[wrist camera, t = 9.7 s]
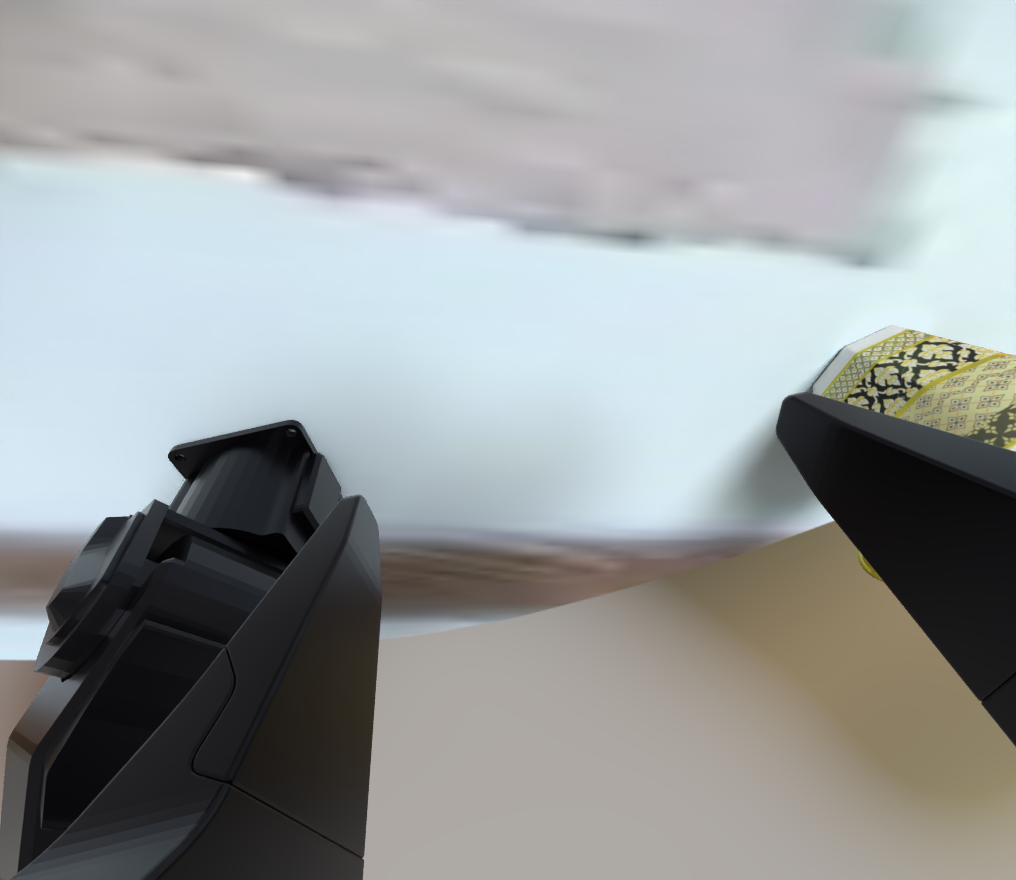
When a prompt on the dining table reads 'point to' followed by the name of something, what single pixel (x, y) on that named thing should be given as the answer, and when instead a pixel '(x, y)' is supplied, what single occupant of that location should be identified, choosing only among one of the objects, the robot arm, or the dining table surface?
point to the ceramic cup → (927, 386)
